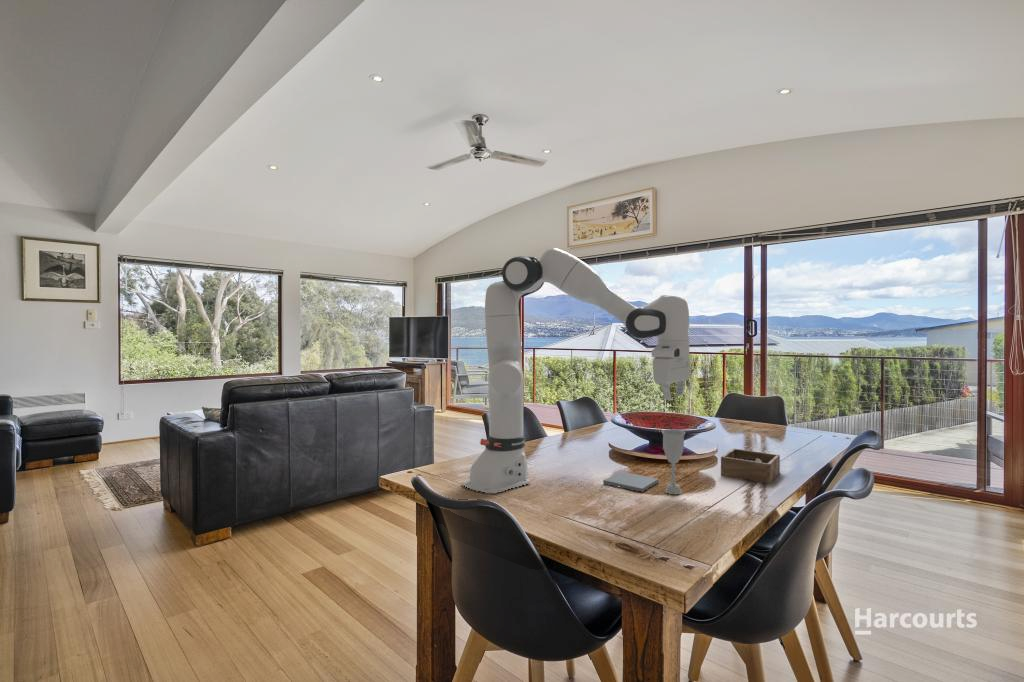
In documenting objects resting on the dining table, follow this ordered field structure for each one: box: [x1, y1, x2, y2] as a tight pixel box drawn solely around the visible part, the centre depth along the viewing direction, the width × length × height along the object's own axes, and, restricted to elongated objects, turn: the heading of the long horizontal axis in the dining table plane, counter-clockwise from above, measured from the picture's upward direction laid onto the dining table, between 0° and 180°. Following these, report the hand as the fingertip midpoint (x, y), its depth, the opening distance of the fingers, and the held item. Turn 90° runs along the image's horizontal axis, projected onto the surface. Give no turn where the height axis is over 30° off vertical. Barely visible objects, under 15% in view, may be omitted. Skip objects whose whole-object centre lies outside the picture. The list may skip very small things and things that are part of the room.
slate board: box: [602, 470, 660, 493], centre depth 152 cm, size 12×13×1 cm
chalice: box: [661, 428, 686, 495], centre depth 144 cm, size 7×7×18 cm
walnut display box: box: [720, 448, 781, 484], centre depth 162 cm, size 15×15×6 cm
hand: (673, 397), depth 143 cm, fingers open, 8 cm apart
